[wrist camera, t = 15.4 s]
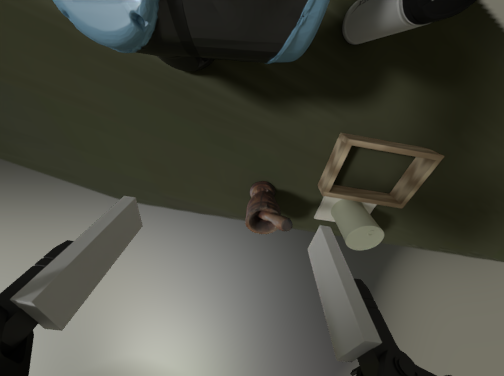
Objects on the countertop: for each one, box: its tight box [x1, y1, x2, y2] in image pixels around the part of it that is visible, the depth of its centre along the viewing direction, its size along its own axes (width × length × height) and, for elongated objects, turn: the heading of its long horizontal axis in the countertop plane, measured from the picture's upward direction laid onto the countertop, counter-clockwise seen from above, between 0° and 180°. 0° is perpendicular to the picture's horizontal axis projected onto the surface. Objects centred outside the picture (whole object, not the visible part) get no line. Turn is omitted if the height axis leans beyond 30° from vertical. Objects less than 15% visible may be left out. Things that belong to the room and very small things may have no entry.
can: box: [331, 199, 384, 250], centre depth 50 cm, size 9×9×12 cm
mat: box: [314, 196, 377, 222], centre depth 55 cm, size 11×16×1 cm
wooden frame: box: [318, 133, 445, 208], centre depth 46 cm, size 15×22×5 cm
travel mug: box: [342, 0, 476, 45], centre depth 24 cm, size 6×7×20 cm
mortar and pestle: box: [245, 181, 292, 234], centre depth 44 cm, size 12×9×20 cm
